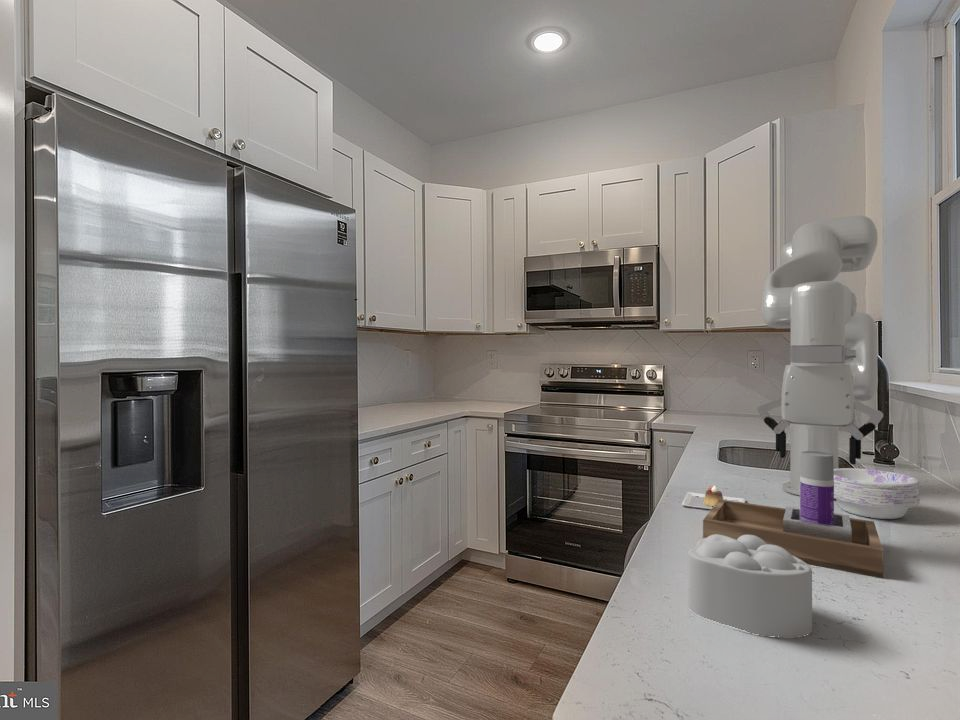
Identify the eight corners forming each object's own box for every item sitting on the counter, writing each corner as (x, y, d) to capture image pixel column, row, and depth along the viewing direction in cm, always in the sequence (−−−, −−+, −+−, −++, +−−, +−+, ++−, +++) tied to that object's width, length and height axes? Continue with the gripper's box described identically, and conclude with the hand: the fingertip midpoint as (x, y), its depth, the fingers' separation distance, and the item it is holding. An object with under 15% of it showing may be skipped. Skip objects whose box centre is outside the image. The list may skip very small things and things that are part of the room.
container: (839, 550, 81) (839, 457, 81) (806, 548, 82) (807, 455, 82) (825, 540, 85) (826, 451, 85) (795, 538, 86) (795, 450, 86)
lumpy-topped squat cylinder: (702, 585, 70) (703, 522, 70) (815, 613, 62) (815, 543, 62) (682, 615, 62) (682, 544, 62) (808, 652, 54) (809, 571, 54)
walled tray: (719, 519, 99) (719, 499, 99) (873, 545, 85) (873, 521, 85) (703, 543, 86) (703, 520, 86) (882, 578, 72) (882, 550, 72)
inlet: (786, 531, 90) (786, 506, 90) (849, 542, 84) (849, 515, 84) (783, 547, 82) (783, 519, 82) (851, 559, 77) (851, 530, 77)
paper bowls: (809, 507, 108) (809, 470, 108) (854, 499, 114) (854, 464, 114) (891, 529, 94) (891, 486, 94) (936, 519, 100) (936, 479, 100)
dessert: (687, 496, 118) (687, 476, 118) (745, 503, 112) (745, 481, 112) (681, 509, 107) (681, 487, 107) (744, 518, 102) (744, 494, 102)
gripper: (881, 356, 82) (880, 461, 82) (759, 356, 91) (760, 450, 92) (886, 357, 75) (885, 470, 76) (755, 357, 85) (755, 457, 86)
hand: (816, 459), depth 84 cm, fingers open, 9 cm apart
